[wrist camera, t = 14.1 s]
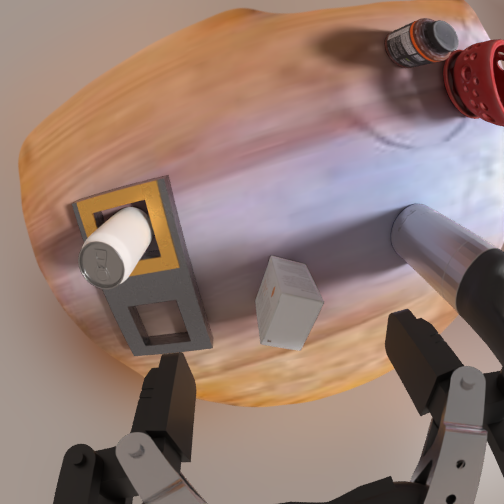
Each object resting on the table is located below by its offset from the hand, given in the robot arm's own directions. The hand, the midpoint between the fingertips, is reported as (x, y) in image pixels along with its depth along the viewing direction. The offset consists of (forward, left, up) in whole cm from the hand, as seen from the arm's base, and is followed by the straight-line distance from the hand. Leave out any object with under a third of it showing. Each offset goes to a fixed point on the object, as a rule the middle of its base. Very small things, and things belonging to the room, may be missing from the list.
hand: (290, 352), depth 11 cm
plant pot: (-17, -36, -30) cm, 50 cm away
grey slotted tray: (+5, +19, -30) cm, 36 cm away
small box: (-12, +9, -30) cm, 34 cm away
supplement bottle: (-5, -30, -30) cm, 43 cm away
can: (+10, +14, -30) cm, 35 cm away
